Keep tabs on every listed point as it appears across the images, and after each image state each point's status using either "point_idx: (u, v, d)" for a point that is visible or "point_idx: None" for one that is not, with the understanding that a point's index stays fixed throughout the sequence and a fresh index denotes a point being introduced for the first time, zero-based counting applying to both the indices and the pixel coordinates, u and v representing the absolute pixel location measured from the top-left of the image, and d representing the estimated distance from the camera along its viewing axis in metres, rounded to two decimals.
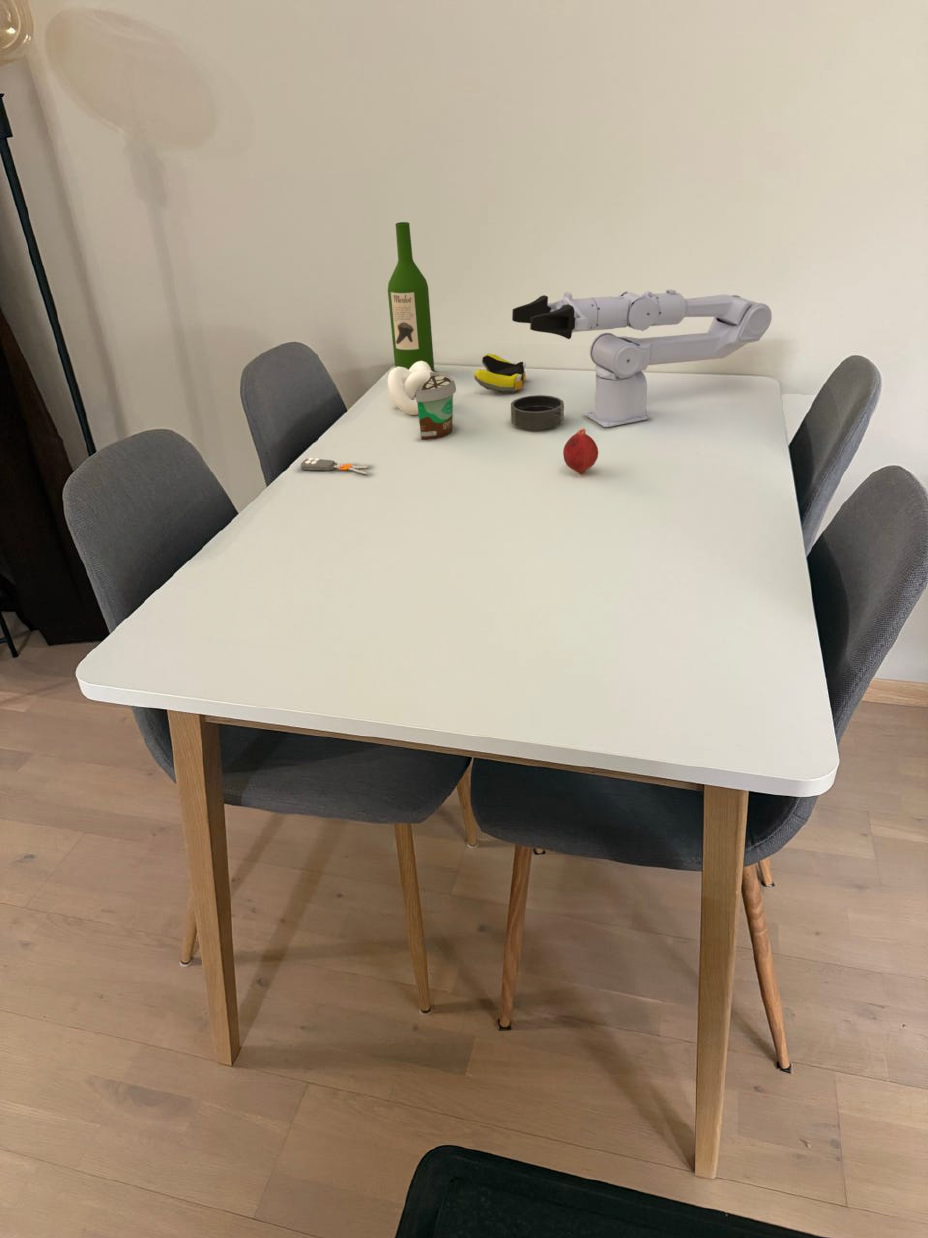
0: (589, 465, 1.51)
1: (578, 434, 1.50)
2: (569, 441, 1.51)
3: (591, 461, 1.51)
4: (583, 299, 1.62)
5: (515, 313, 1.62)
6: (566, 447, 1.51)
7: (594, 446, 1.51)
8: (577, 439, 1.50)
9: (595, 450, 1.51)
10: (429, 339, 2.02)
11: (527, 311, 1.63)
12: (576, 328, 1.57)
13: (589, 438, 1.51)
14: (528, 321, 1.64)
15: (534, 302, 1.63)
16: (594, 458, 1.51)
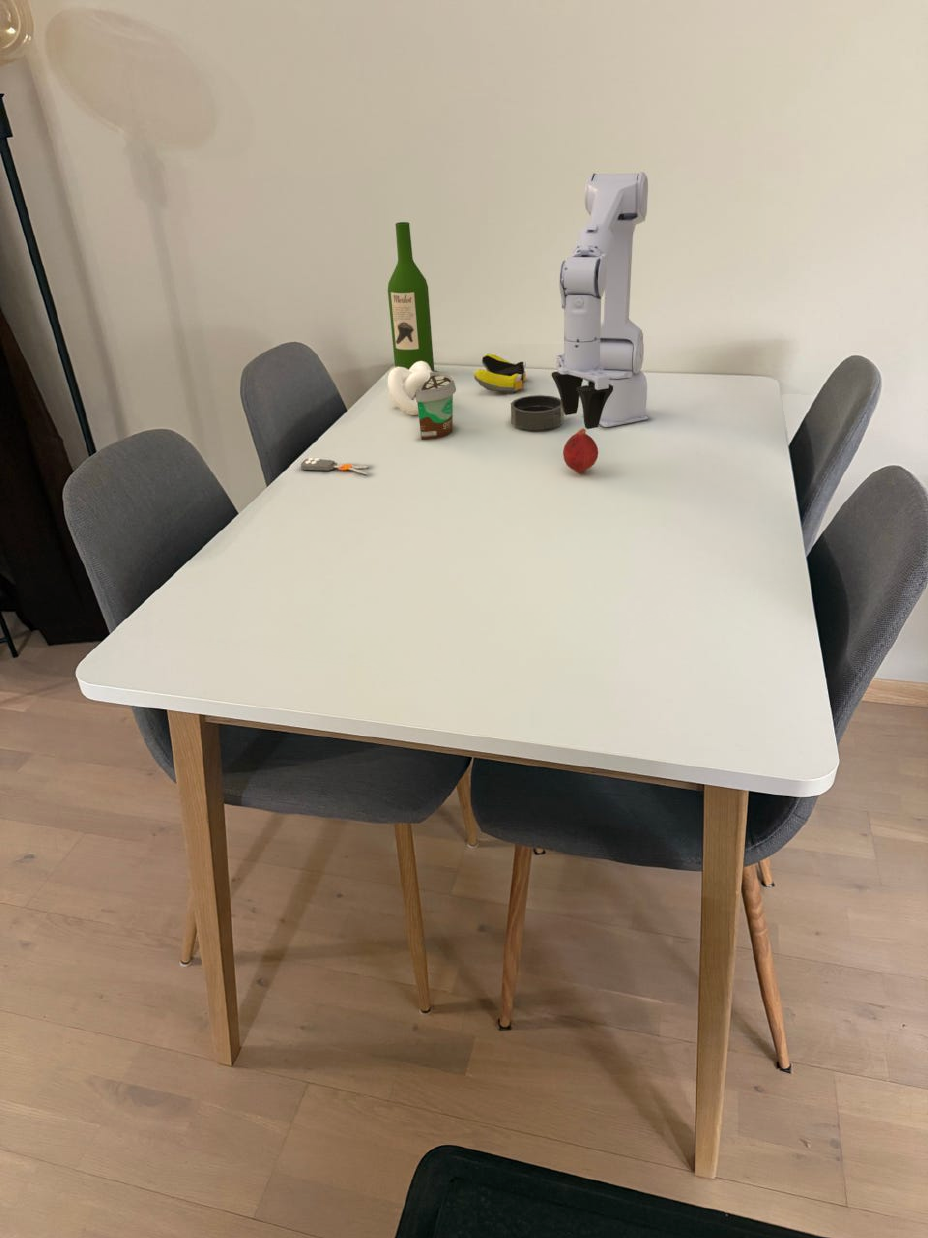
0: (589, 465, 1.51)
1: (578, 434, 1.50)
2: (569, 441, 1.51)
3: (591, 461, 1.51)
4: (567, 352, 1.42)
5: (569, 412, 1.52)
6: (566, 447, 1.51)
7: (594, 446, 1.51)
8: (577, 439, 1.50)
9: (595, 450, 1.51)
10: (429, 339, 2.02)
11: (568, 398, 1.51)
12: (605, 387, 1.40)
13: (589, 438, 1.51)
14: (578, 395, 1.51)
15: (559, 389, 1.50)
16: (594, 458, 1.51)
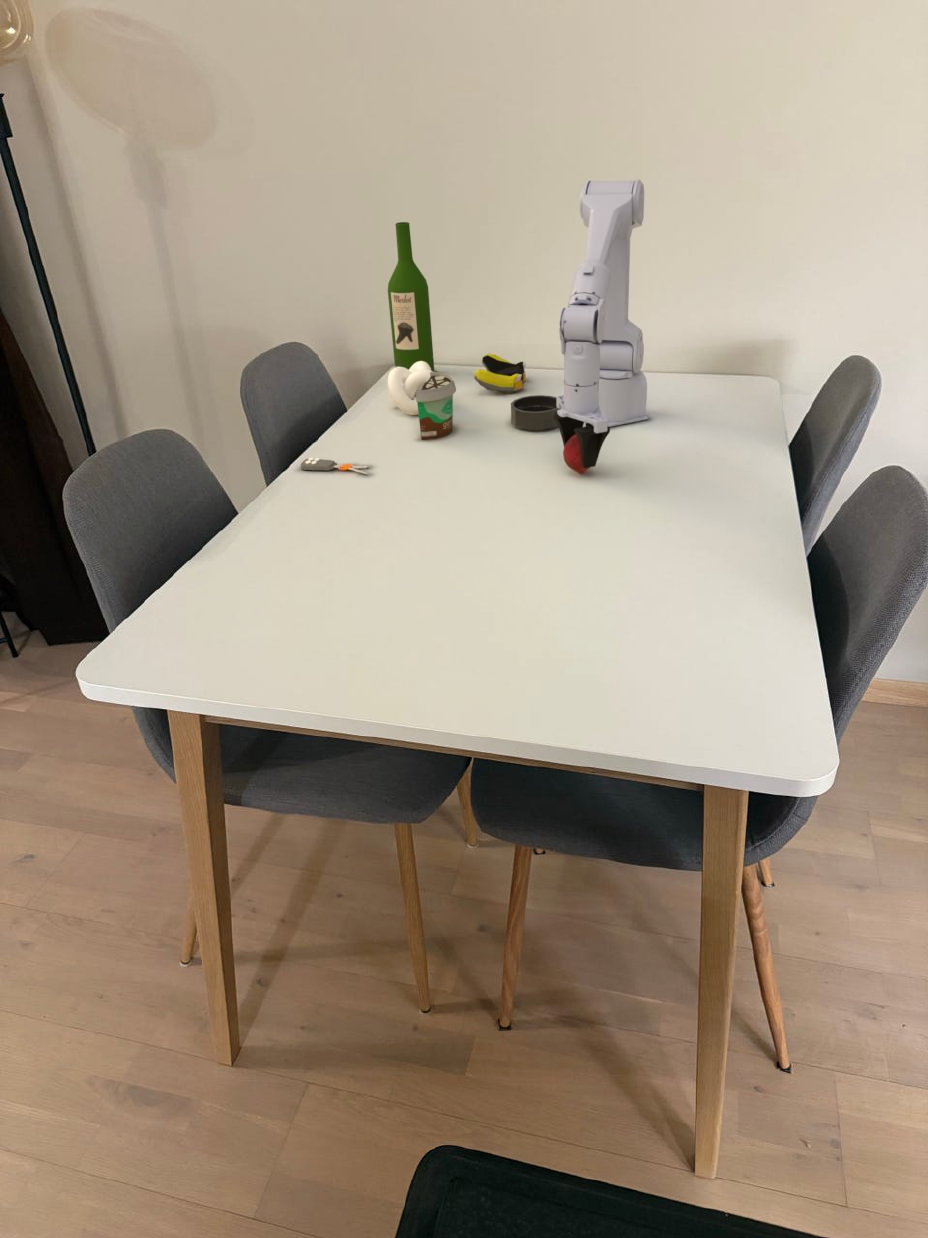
0: None
1: None
2: (569, 441, 1.51)
3: None
4: (567, 395, 1.46)
5: None
6: (566, 447, 1.51)
7: None
8: (577, 439, 1.50)
9: None
10: (429, 339, 2.02)
11: None
12: None
13: None
14: None
15: (561, 430, 1.53)
16: None
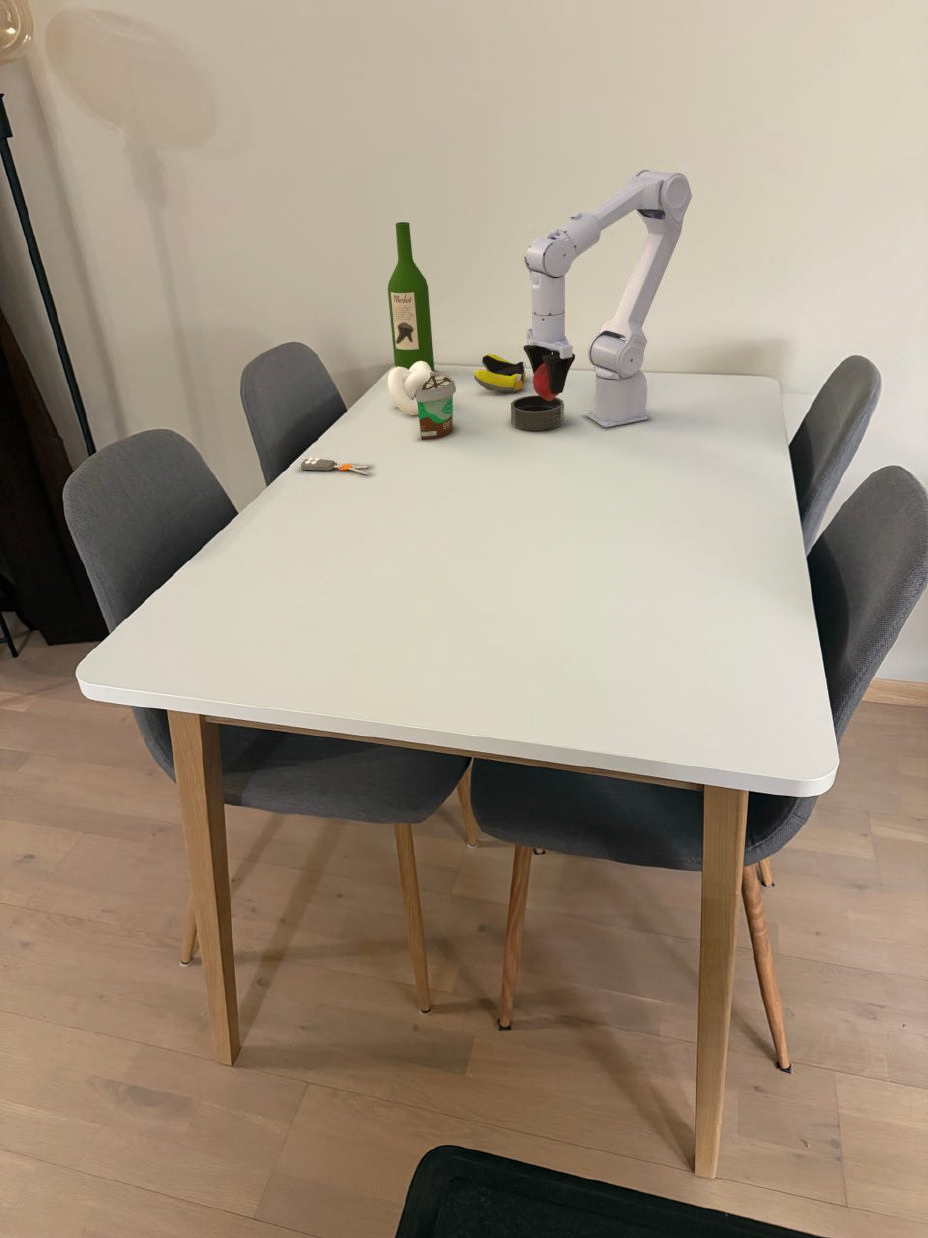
0: None
1: None
2: (538, 369, 1.63)
3: None
4: (535, 325, 1.58)
5: None
6: (535, 375, 1.63)
7: None
8: (545, 367, 1.62)
9: None
10: (429, 339, 2.02)
11: None
12: (569, 356, 1.56)
13: None
14: None
15: (531, 360, 1.65)
16: None
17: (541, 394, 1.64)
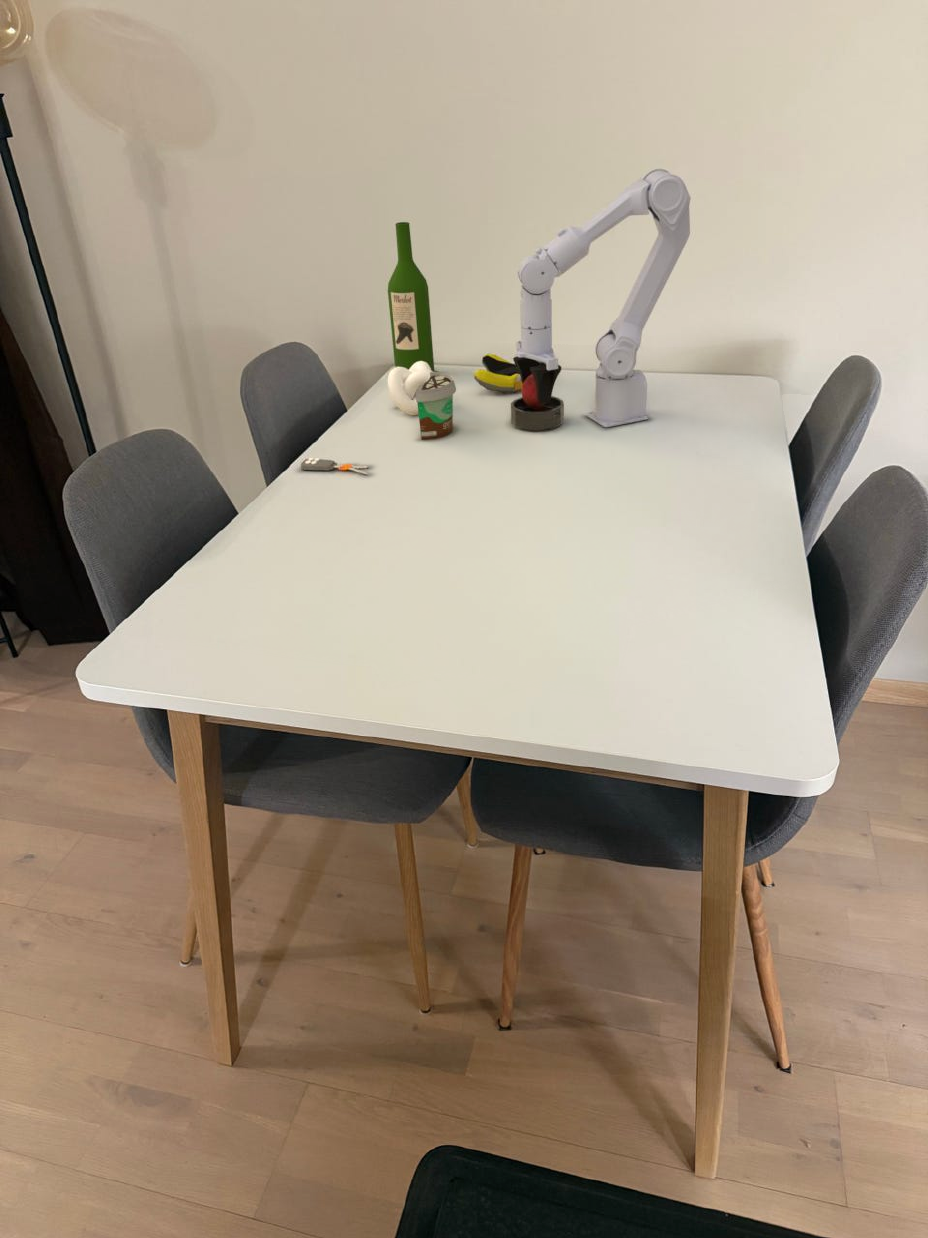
0: None
1: None
2: (526, 380, 1.72)
3: None
4: (523, 338, 1.66)
5: None
6: (523, 385, 1.72)
7: None
8: (533, 378, 1.71)
9: None
10: (429, 339, 2.02)
11: None
12: None
13: None
14: None
15: (520, 371, 1.74)
16: None
17: (529, 403, 1.73)
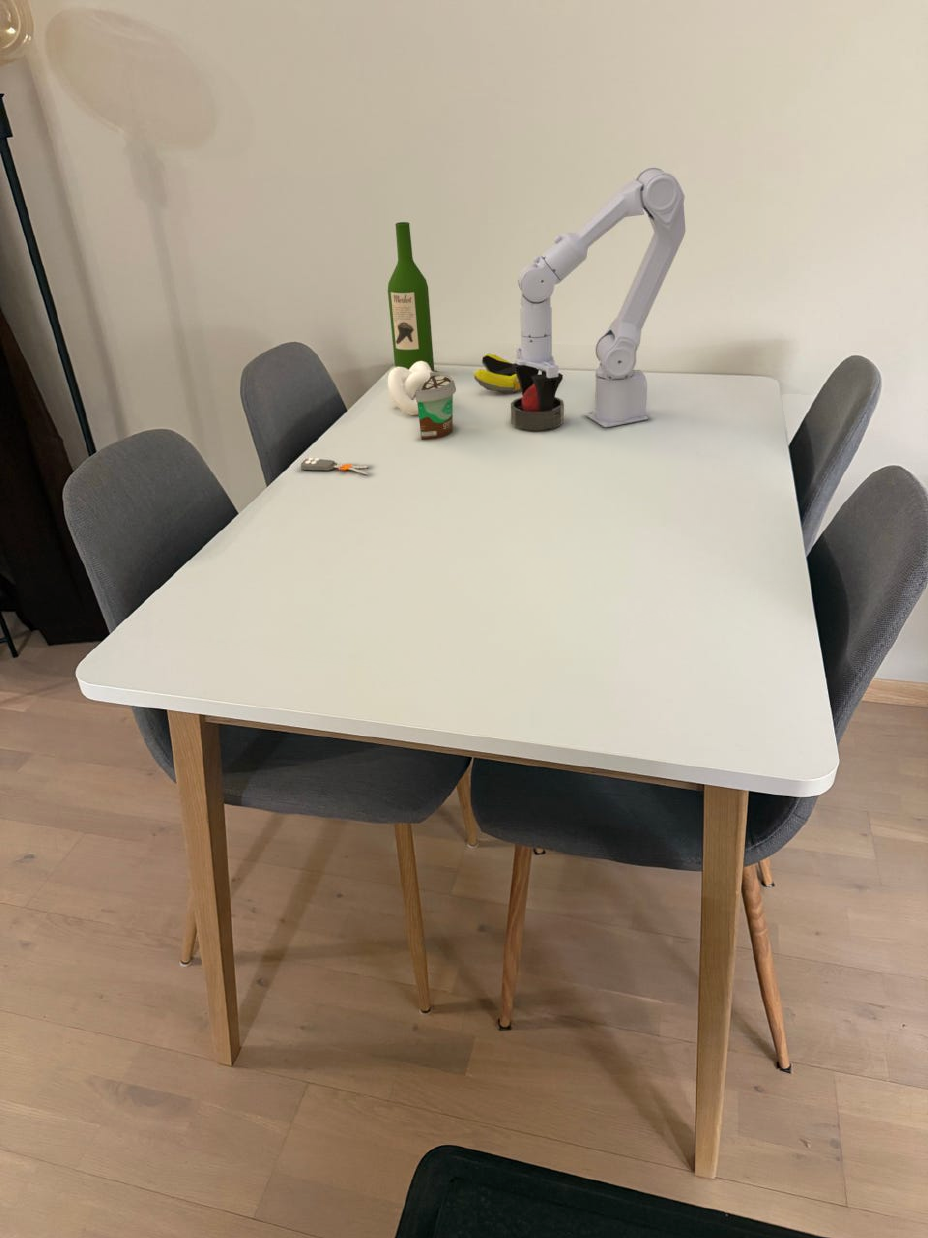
0: None
1: (534, 385, 1.72)
2: (526, 391, 1.73)
3: None
4: (524, 346, 1.67)
5: None
6: (524, 396, 1.73)
7: None
8: (533, 389, 1.72)
9: None
10: (429, 339, 2.02)
11: (527, 386, 1.76)
12: None
13: None
14: None
15: (519, 378, 1.75)
16: None
17: None
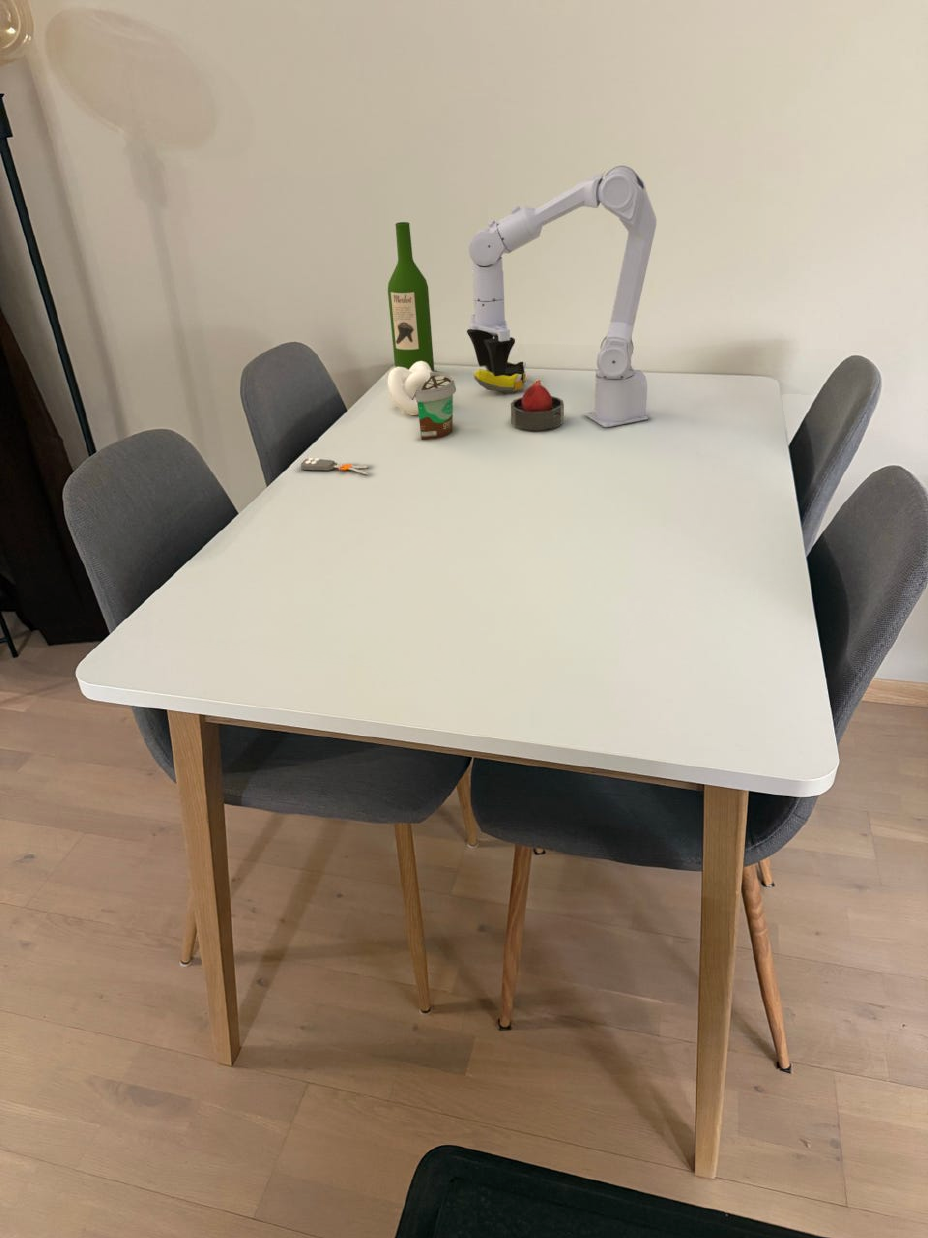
0: None
1: (534, 385, 1.72)
2: (526, 391, 1.73)
3: (545, 409, 1.73)
4: (476, 310, 1.69)
5: (483, 364, 1.79)
6: (524, 396, 1.73)
7: (548, 395, 1.72)
8: (533, 389, 1.72)
9: (548, 399, 1.72)
10: (429, 339, 2.02)
11: (481, 351, 1.78)
12: (507, 339, 1.67)
13: (544, 388, 1.72)
14: None
15: (473, 343, 1.77)
16: (548, 406, 1.73)
17: None
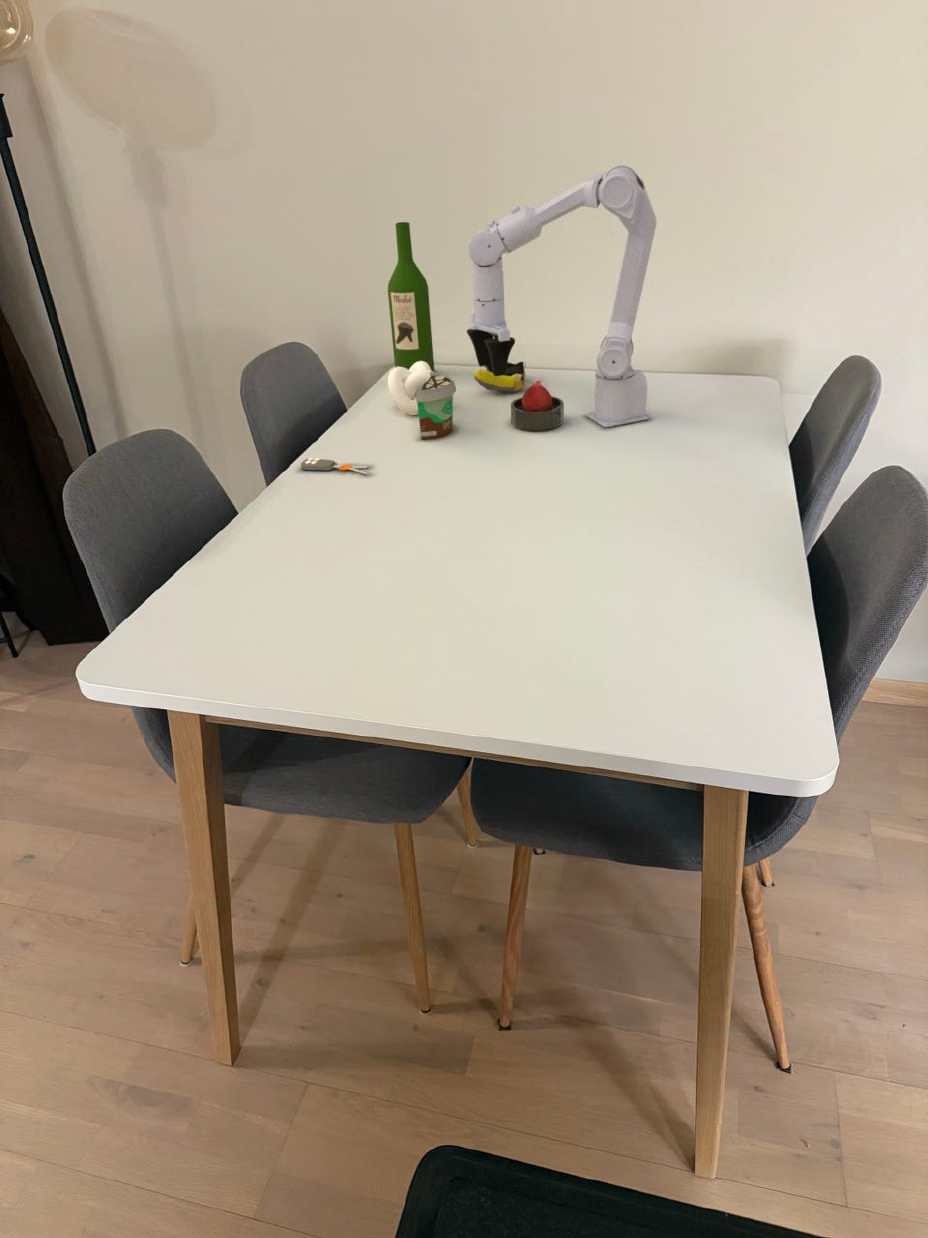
0: None
1: (534, 385, 1.72)
2: (526, 391, 1.73)
3: (545, 409, 1.73)
4: (476, 310, 1.69)
5: (483, 364, 1.79)
6: (524, 396, 1.73)
7: (548, 395, 1.72)
8: (533, 389, 1.72)
9: (548, 399, 1.72)
10: (429, 339, 2.02)
11: (481, 351, 1.78)
12: (507, 339, 1.67)
13: (544, 388, 1.72)
14: None
15: (473, 343, 1.77)
16: (548, 406, 1.73)
17: None
